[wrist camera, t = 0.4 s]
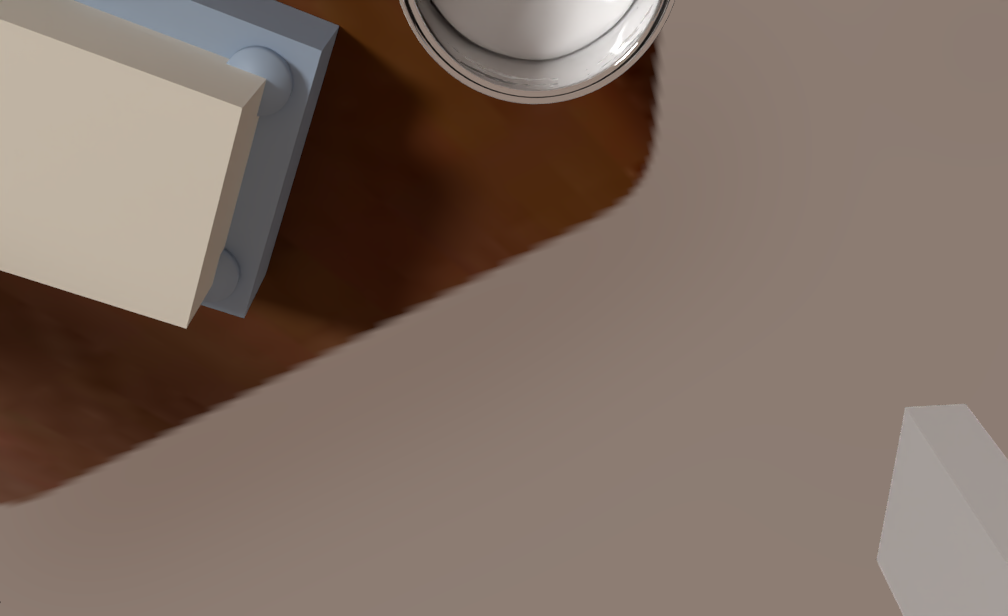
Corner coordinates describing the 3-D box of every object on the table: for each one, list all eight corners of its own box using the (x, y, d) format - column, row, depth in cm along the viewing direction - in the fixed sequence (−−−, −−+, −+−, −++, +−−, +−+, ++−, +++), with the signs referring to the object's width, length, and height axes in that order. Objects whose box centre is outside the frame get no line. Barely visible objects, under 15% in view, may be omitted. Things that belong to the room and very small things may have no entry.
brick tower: (-5, 184, 38) (-117, 269, 31) (27, -97, 32) (-100, -69, 26) (265, 273, 40) (217, 372, 33) (339, 25, 35) (299, 82, 28)
